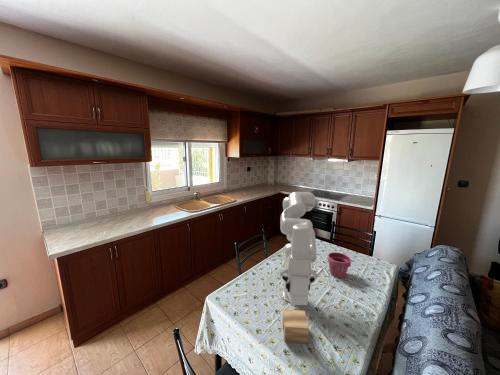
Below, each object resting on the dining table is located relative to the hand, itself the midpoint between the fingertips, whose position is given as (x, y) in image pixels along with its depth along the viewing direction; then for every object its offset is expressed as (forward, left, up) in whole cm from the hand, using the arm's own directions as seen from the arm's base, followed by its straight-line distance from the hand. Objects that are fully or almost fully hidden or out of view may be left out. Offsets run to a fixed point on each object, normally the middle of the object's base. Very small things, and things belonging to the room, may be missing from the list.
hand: (297, 290), depth 91 cm
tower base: (0, 0, -22) cm, 22 cm away
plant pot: (-48, +36, -22) cm, 64 cm away
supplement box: (0, 0, -5) cm, 5 cm away
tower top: (0, 0, -18) cm, 18 cm away
